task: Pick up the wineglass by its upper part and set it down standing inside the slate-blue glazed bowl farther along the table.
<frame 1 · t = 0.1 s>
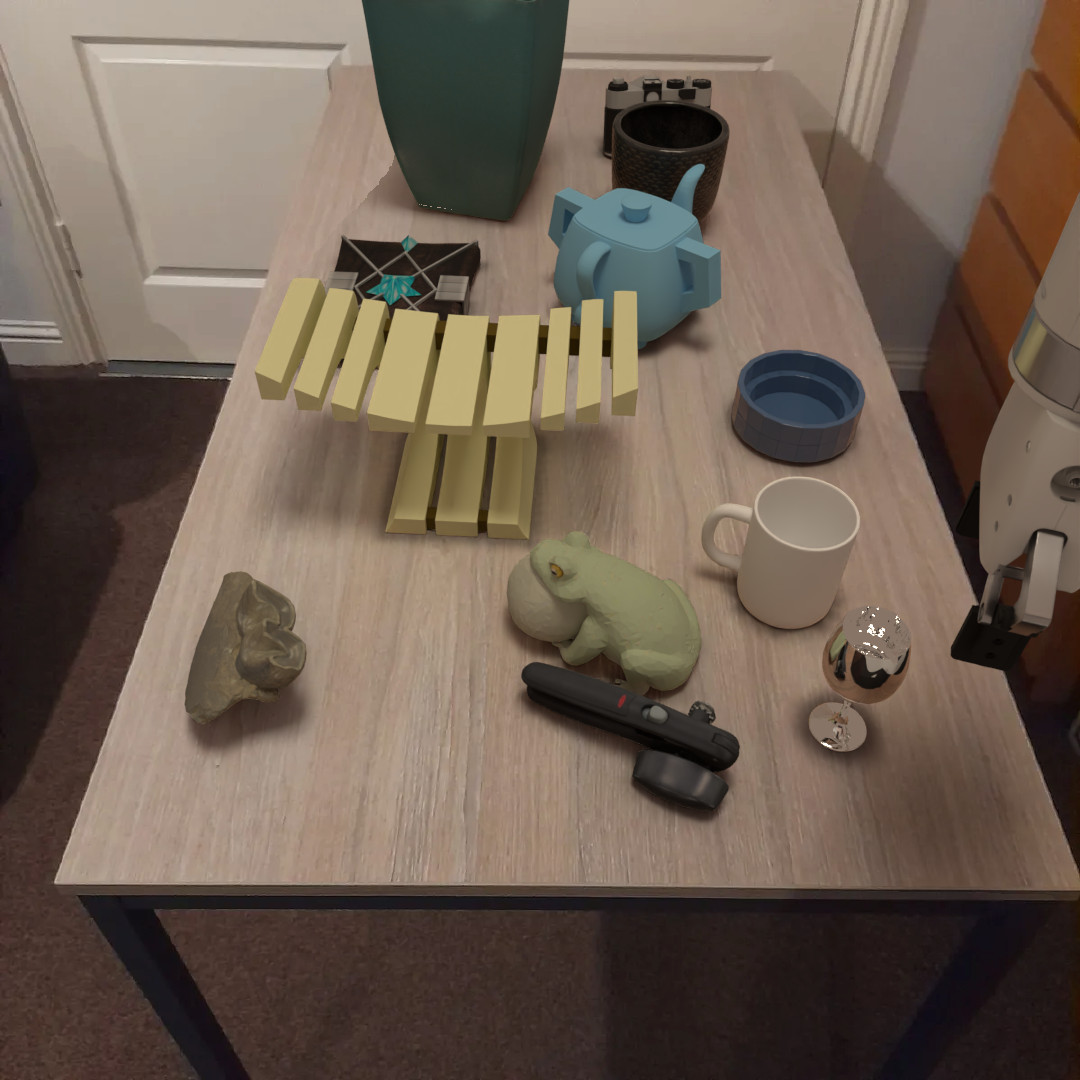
hand: (980, 595, 58), 22 cm above the table, tool pointing down, fingers open, 9 cm apart
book: (398, 315, 115), on the table
teapot: (634, 311, 116), on the table
wineglass: (836, 728, 78), on the table
planter: (660, 224, 129), on the table
camera: (650, 143, 144), on the table
flower pot: (479, 195, 133), on the table
can opener: (623, 739, 77), on the table
slatted curved stool: (466, 477, 96), on the table
cup: (761, 589, 87), on the table
fossil: (291, 627, 79), point 4 cm above the table
figurine: (599, 639, 83), on the table
bowl: (791, 426, 102), on the table
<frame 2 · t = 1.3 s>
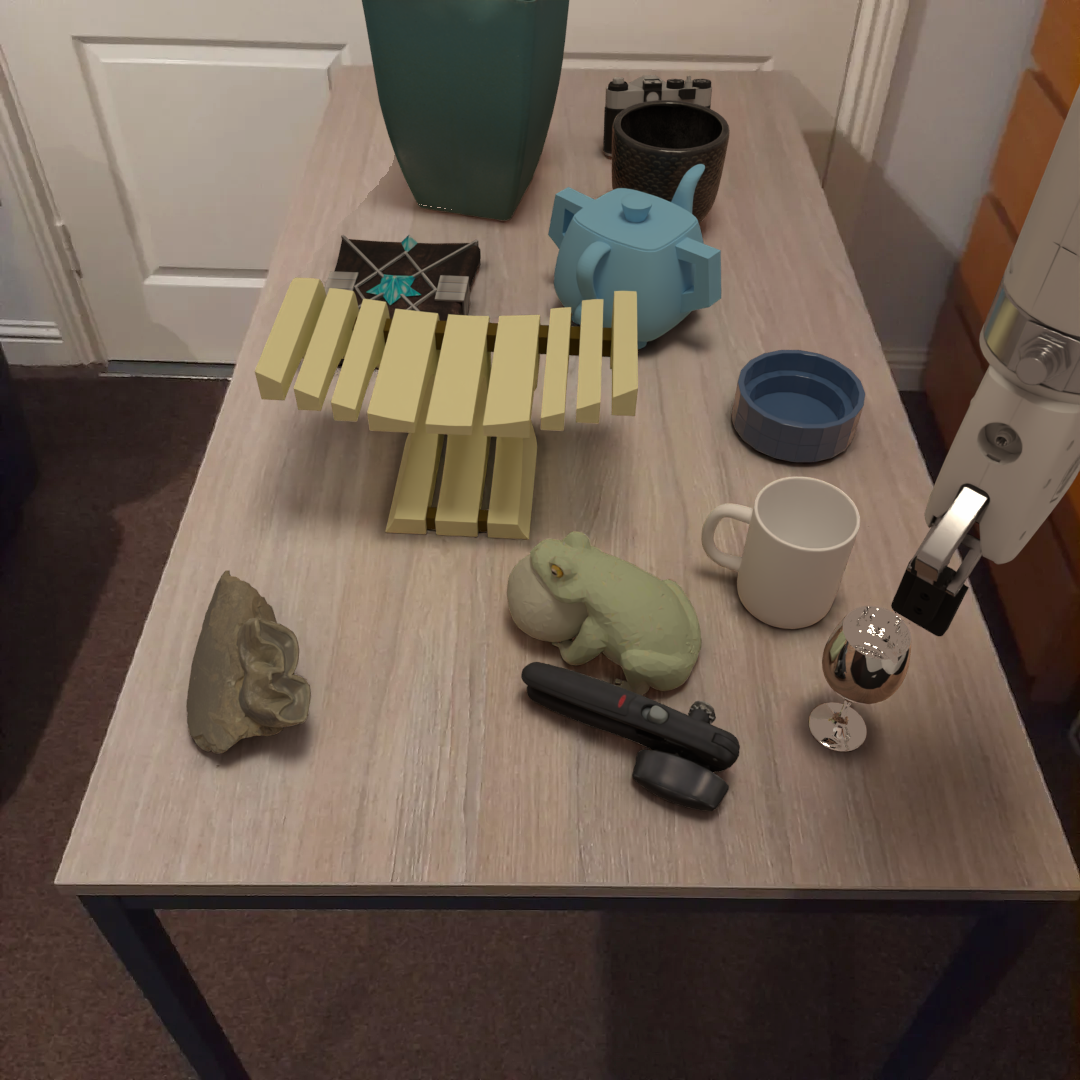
hand: (957, 572, 59), 22 cm above the table, tool pointing down, fingers open, 9 cm apart
fossil: (292, 644, 78), point 4 cm above the table
everything else where it was.
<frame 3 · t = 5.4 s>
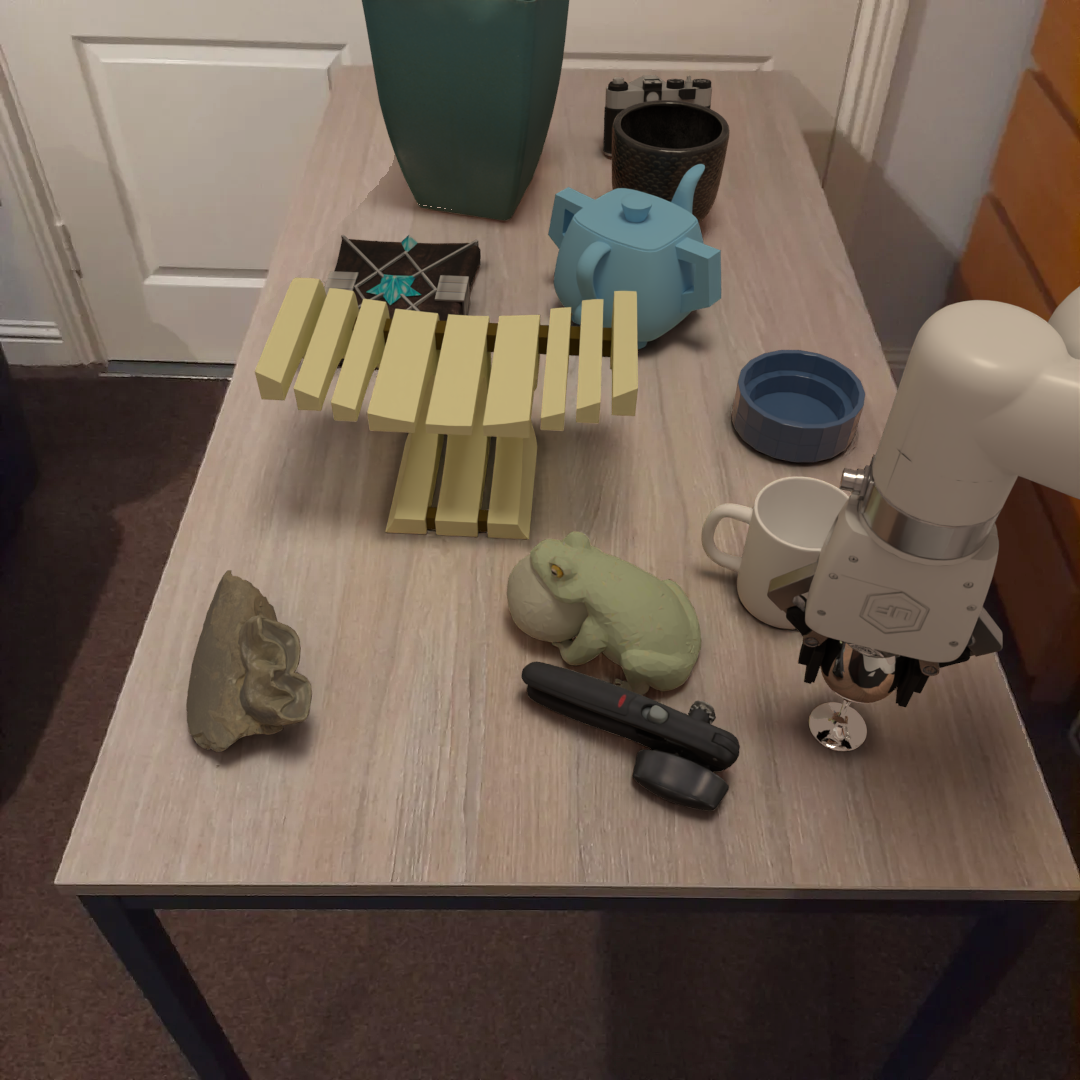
hand: (856, 677, 72), 7 cm above the table, tool pointing down, fingers closed on wineglass, 5 cm apart
wineglass: (836, 728, 78), on the table, touching gripper
everything else where it was.
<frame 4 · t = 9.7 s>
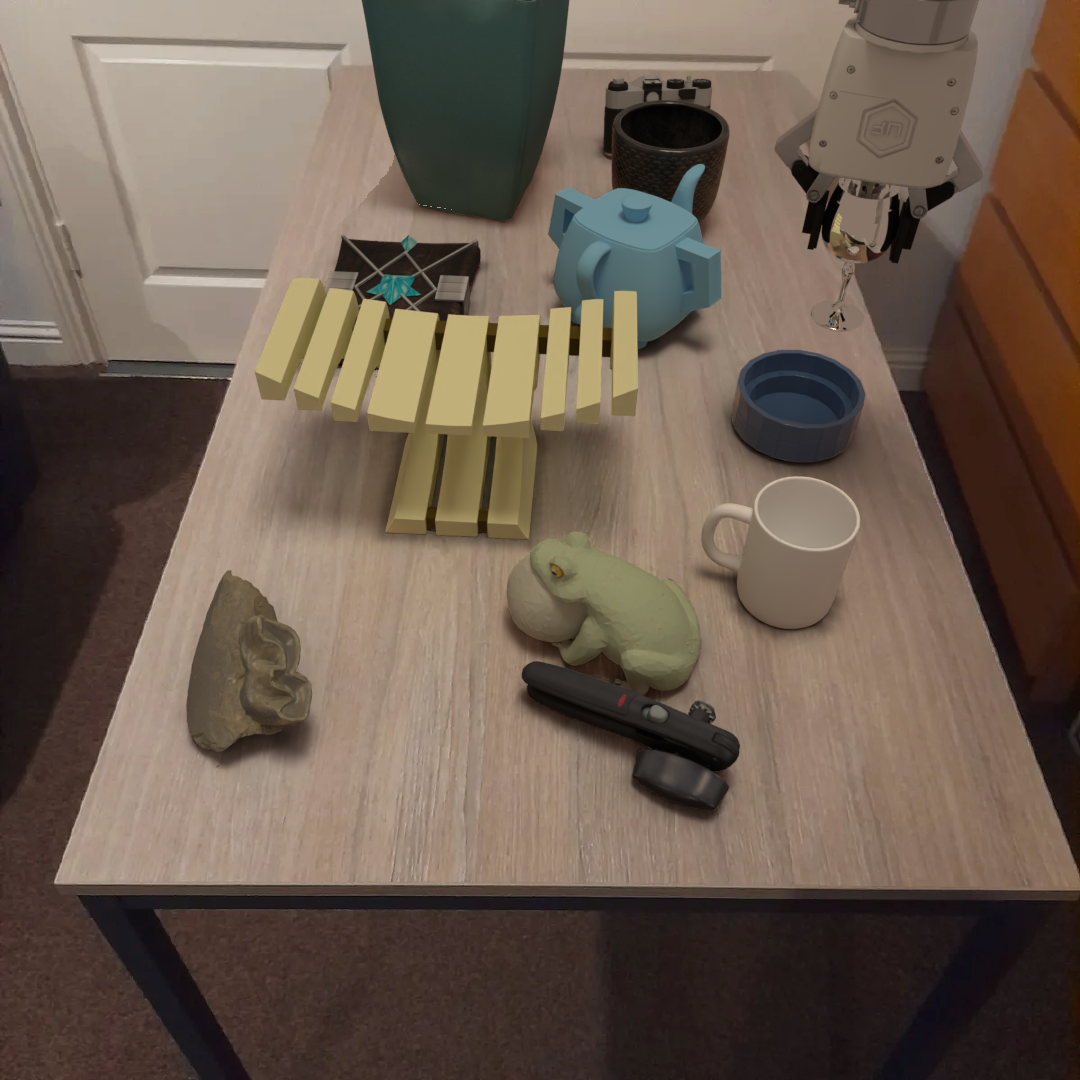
hand: (853, 245, 81), 24 cm above the table, tool pointing down, fingers closed on wineglass, 5 cm apart
wineglass: (836, 318, 86), point 16 cm above the table, touching gripper
everything else where it was.
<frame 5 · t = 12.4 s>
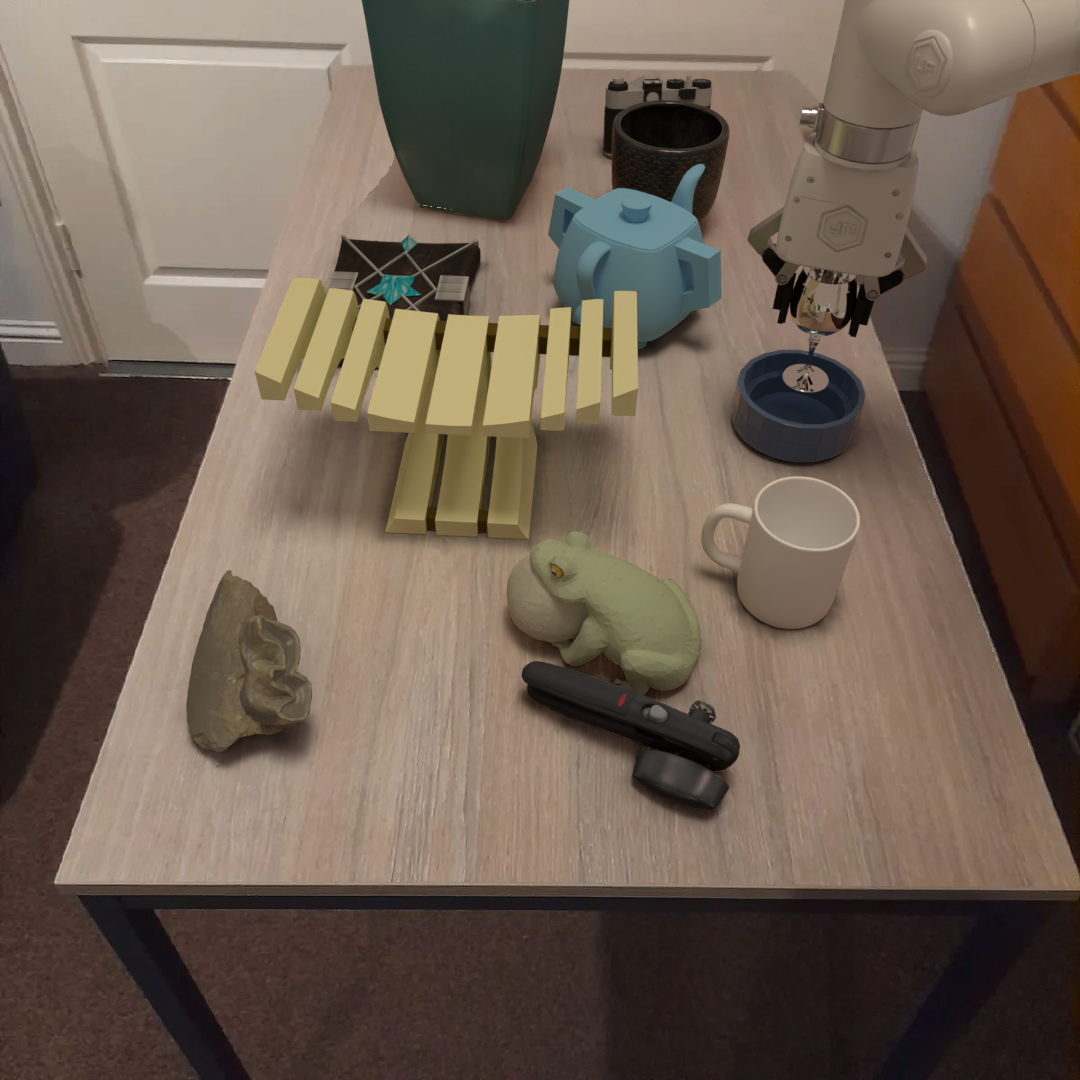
hand: (818, 320, 92), 13 cm above the table, tool pointing down, fingers closed on wineglass, 5 cm apart
wineglass: (804, 380, 98), point 6 cm above the table, touching gripper
everything else where it was.
when the fingers open (8 cm above the table, at t = 14.2 s): wineglass stays where it is, resting on bowl.
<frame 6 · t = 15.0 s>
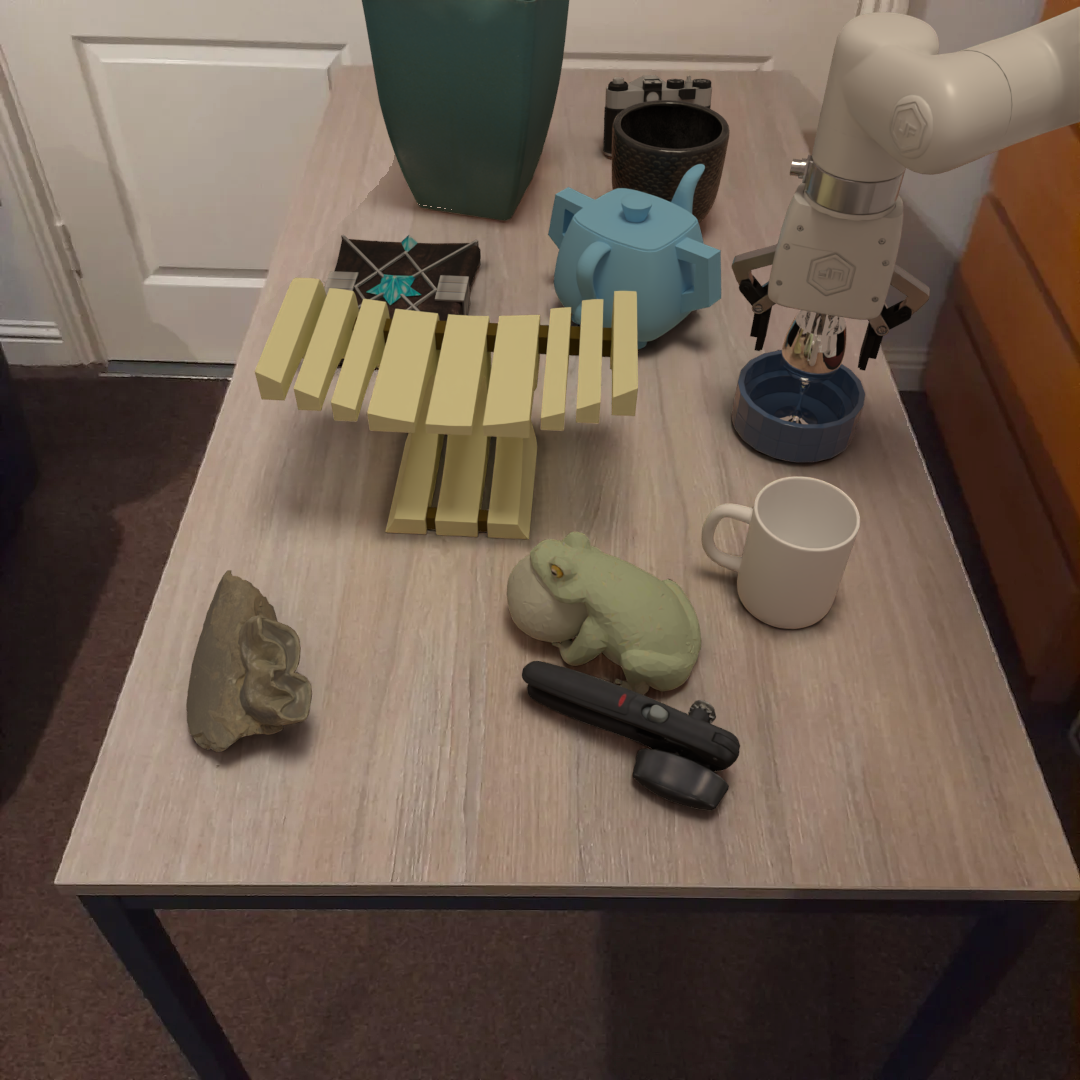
hand: (810, 352, 95), 9 cm above the table, tool pointing down, fingers open, 9 cm apart
wineglass: (795, 422, 101), resting on bowl
everything else where it was.
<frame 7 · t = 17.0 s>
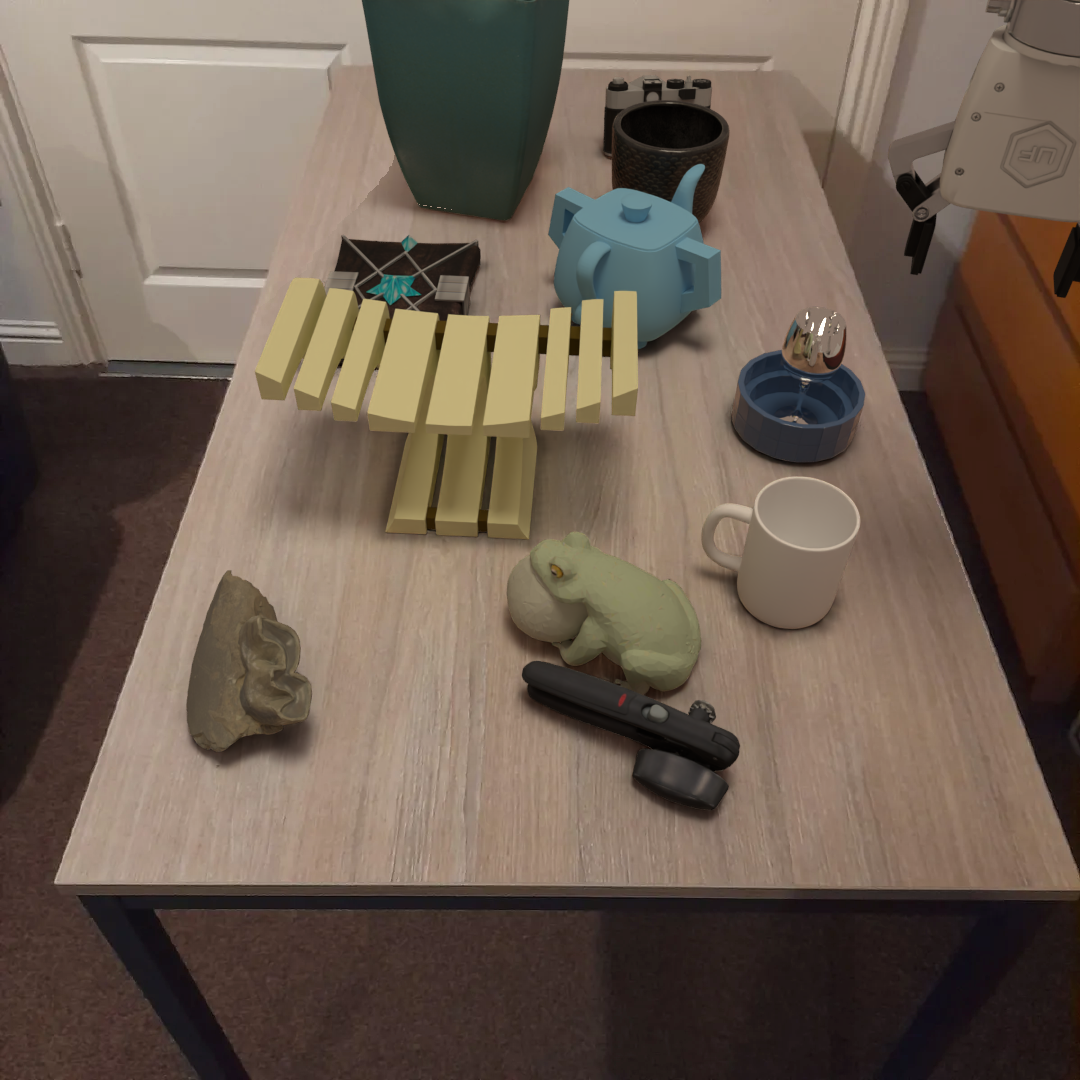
hand: (986, 276, 71), 28 cm above the table, tool pointing down, fingers open, 9 cm apart
nothing on the table moved.
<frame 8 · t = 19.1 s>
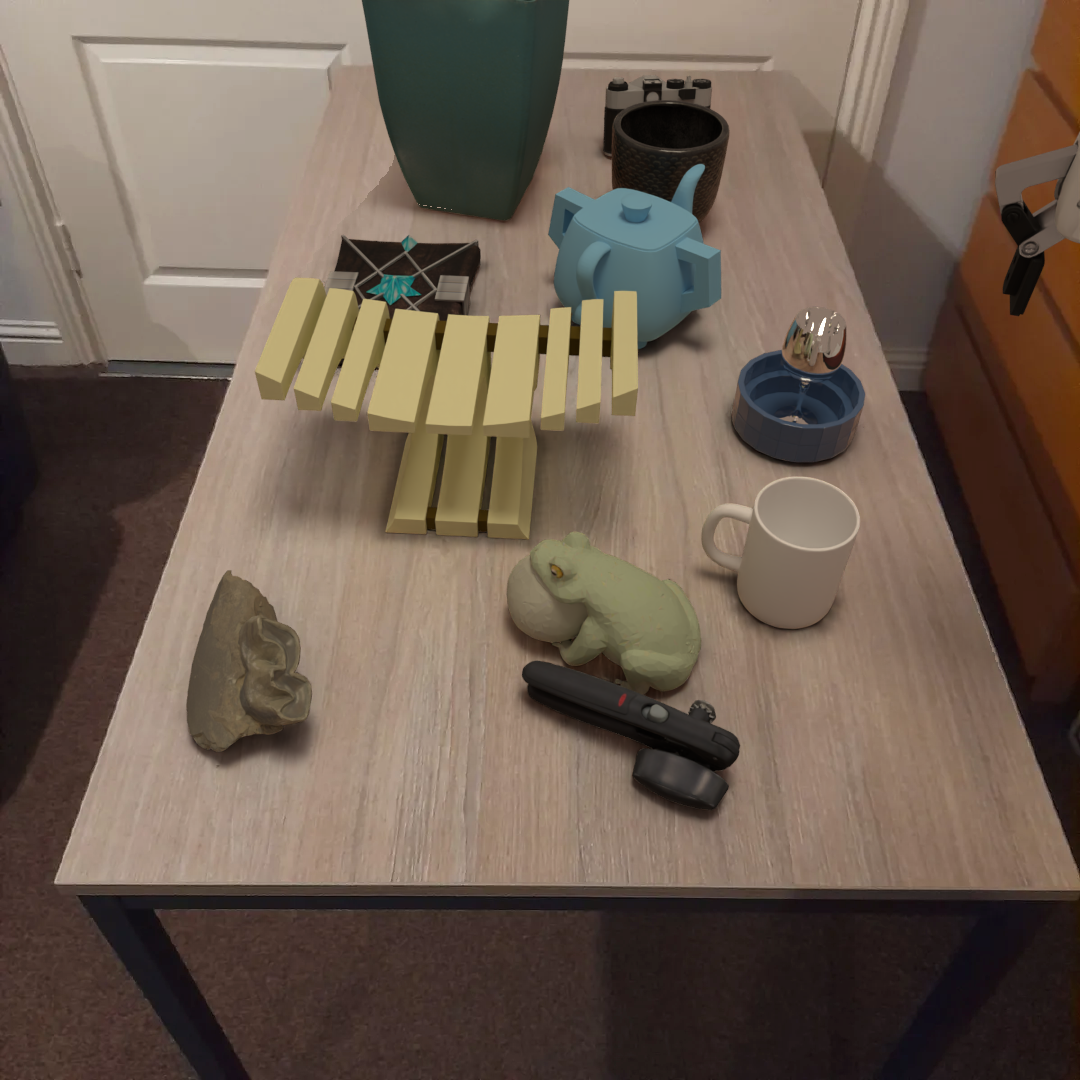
nothing on the table moved.
at the end: wineglass 0.3 cm off-centre in the bowl, point 0.4 cm above the bowl's base; wineglass tilted 0°; the gripper is holding nothing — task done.
